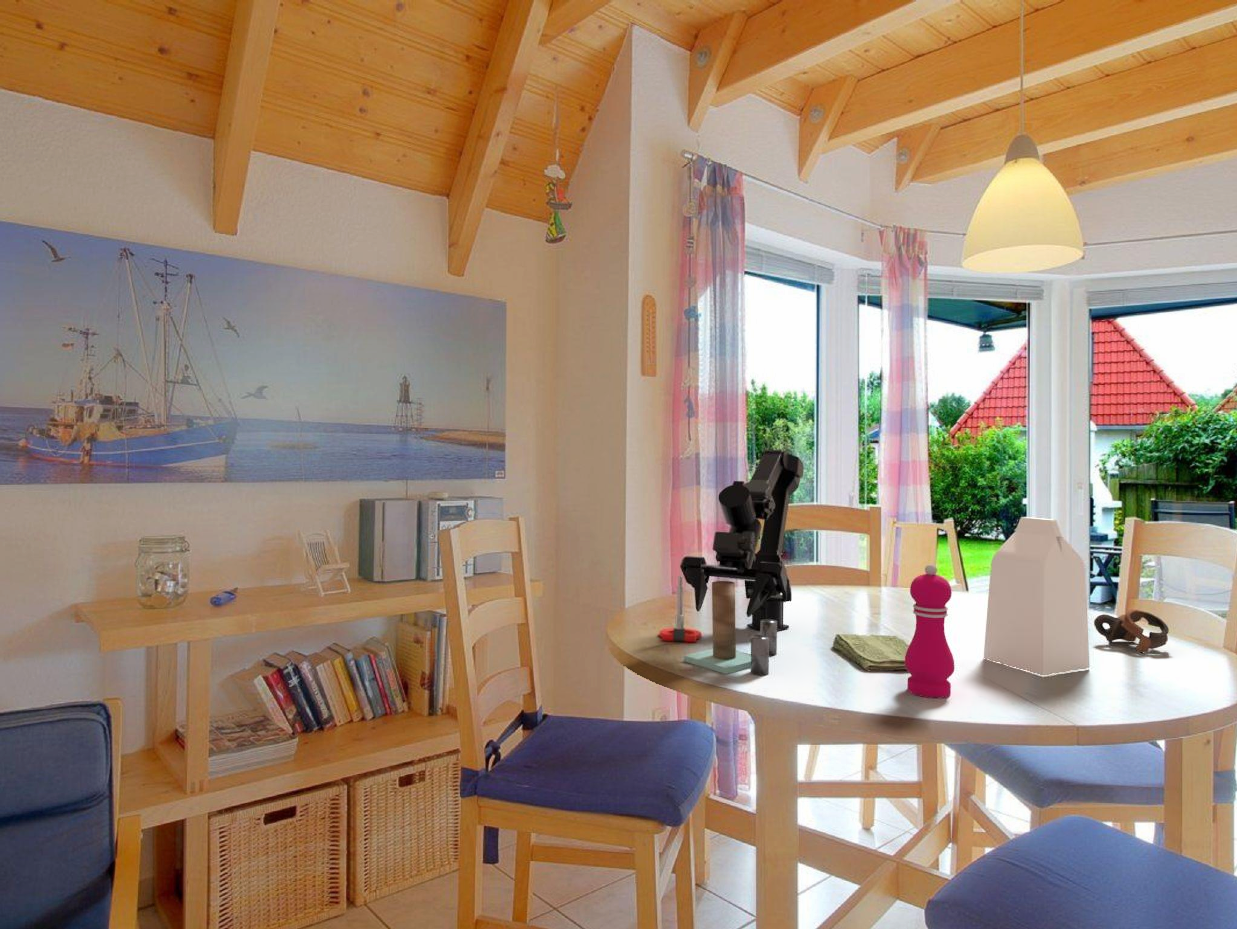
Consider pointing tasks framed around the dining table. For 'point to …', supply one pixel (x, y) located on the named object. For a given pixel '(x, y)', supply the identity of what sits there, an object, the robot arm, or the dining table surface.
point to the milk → (1037, 602)
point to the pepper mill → (930, 637)
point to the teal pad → (720, 661)
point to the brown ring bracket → (1133, 629)
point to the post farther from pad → (770, 634)
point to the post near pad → (759, 655)
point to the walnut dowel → (723, 619)
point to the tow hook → (680, 623)
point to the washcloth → (873, 650)
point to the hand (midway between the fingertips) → (722, 612)
